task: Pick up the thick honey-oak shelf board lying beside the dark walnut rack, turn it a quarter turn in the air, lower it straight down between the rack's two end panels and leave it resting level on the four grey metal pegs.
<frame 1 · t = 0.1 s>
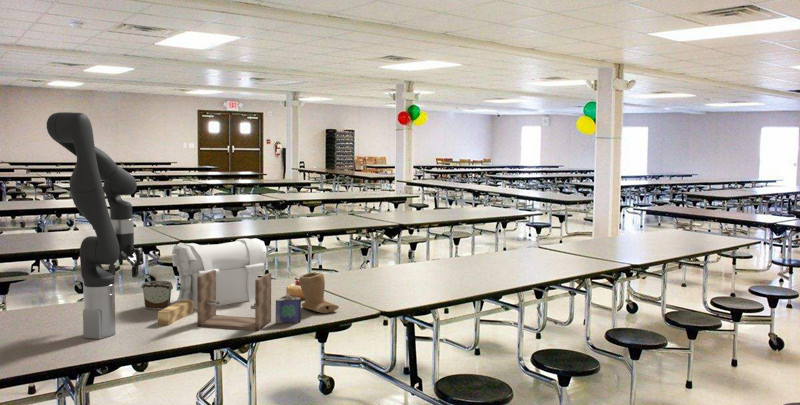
hand: (123, 276, 216), 17 cm above the table, tool pointing down, fingers open, 8 cm apart
shelf rack: (234, 323, 220), on the table
tan ankle boot: (316, 310, 241), on the table
flask: (288, 323, 223), on the table
shelf board: (176, 318, 226), on the table
food container: (160, 307, 241), on the table
pastry: (300, 297, 262), on the table
chest: (221, 300, 254), on the table
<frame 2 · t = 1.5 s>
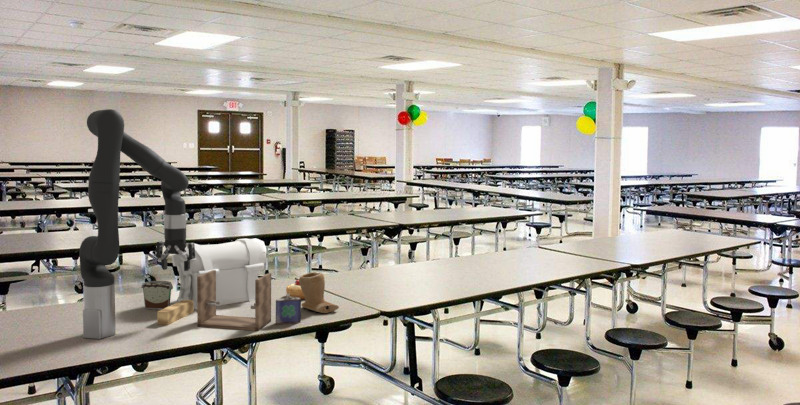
hand: (175, 270, 224), 18 cm above the table, tool pointing down, fingers open, 8 cm apart
nothing on the table moved.
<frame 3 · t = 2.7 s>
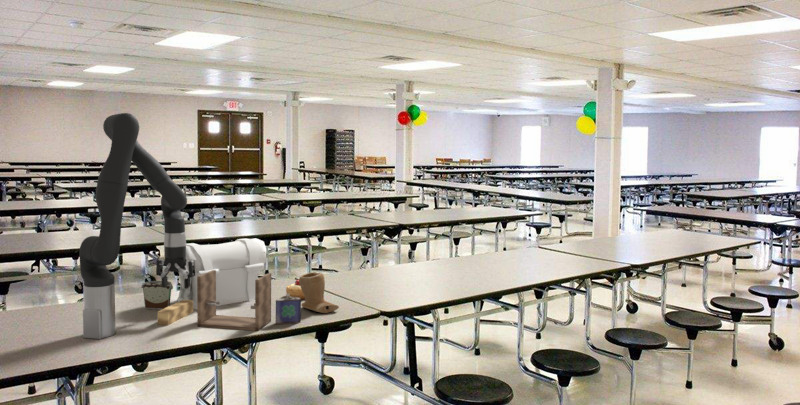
hand: (176, 287, 225), 11 cm above the table, tool pointing down, fingers open, 8 cm apart
nothing on the table moved.
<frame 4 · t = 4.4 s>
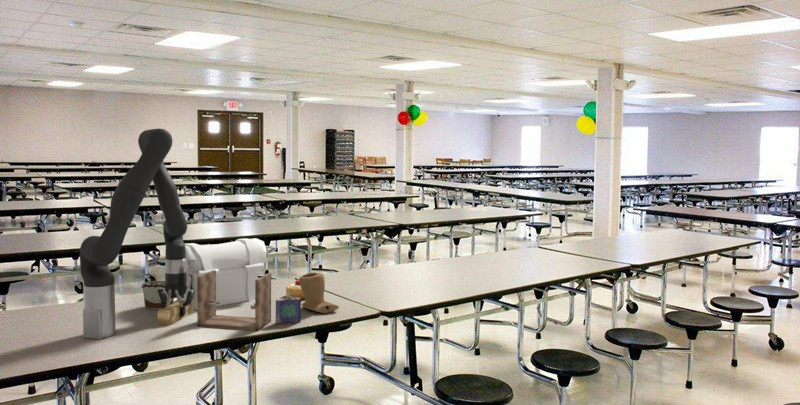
hand: (176, 315, 226), 1 cm above the table, tool pointing down, fingers closed on shelf board, 4 cm apart
shelf board: (176, 318, 226), on the table, touching gripper
everything else where it was.
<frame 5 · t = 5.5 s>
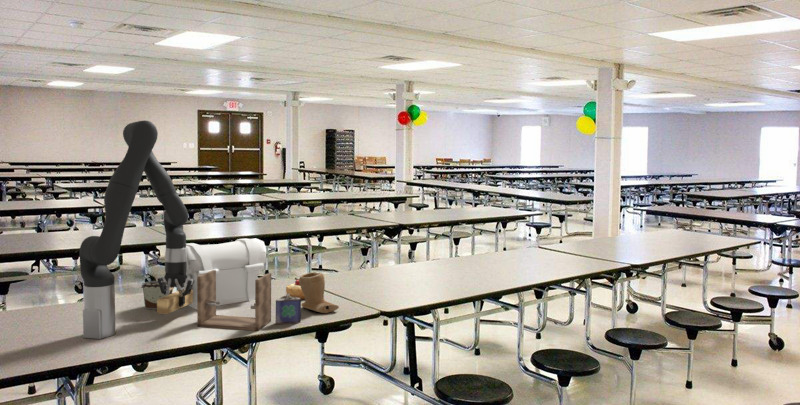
hand: (175, 305, 225), 5 cm above the table, tool pointing down, fingers closed on shelf board, 4 cm apart
shelf board: (175, 307, 225), point 4 cm above the table, touching gripper
everything else where it was.
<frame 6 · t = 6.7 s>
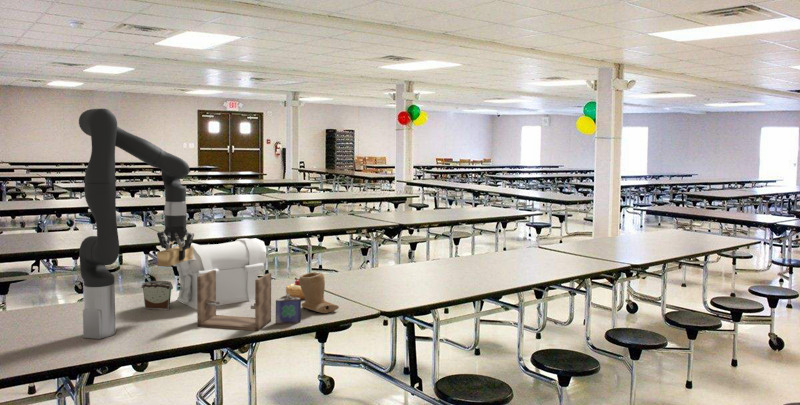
hand: (175, 259, 224), 22 cm above the table, tool pointing down, fingers closed on shelf board, 4 cm apart
shelf board: (175, 262, 224), point 21 cm above the table, touching gripper
everything else where it was.
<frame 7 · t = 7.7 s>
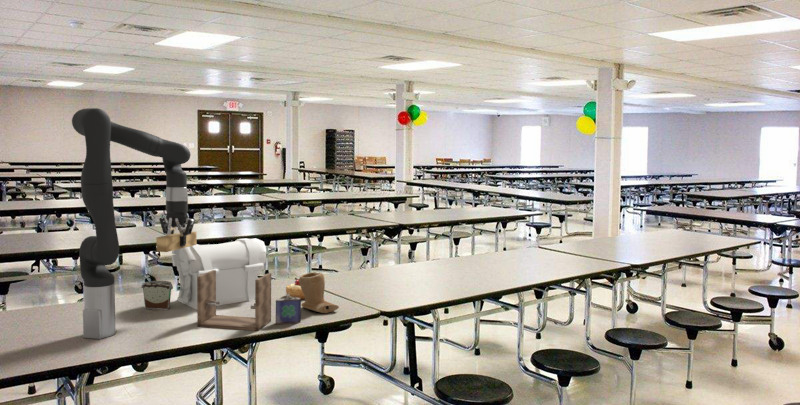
hand: (177, 245, 223), 27 cm above the table, tool pointing down, fingers closed on shelf board, 4 cm apart
shelf board: (177, 247, 223), point 26 cm above the table, touching gripper
everything else where it was.
when the fingers open (10 cm above the table, at t = 13.8 s): shelf board drops 2 cm, resting on shelf rack.
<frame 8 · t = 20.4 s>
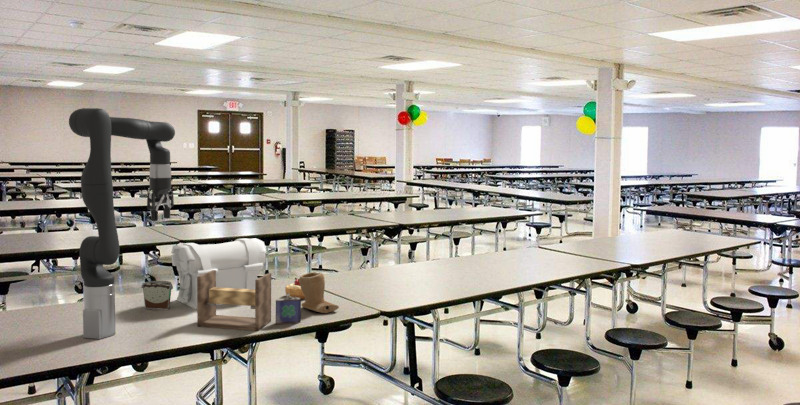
hand: (160, 219, 228), 36 cm above the table, tool pointing down, fingers open, 8 cm apart
shelf board: (235, 303, 219), point 8 cm above the table, touching shelf rack
everything else where it was.
at the end: shelf board 0.0 cm off-centre on the shelf rack, point 7.6 cm above the shelf rack's base; shelf board tilted 0°; the gripper is holding nothing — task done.
